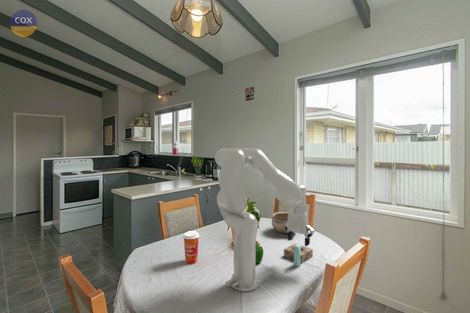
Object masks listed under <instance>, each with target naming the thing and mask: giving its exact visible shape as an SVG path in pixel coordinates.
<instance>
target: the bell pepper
mask: <svg viewBox="0 0 470 313" xmlns="http://www.w3.org/2000/svg"><path fill="white" fill-rule="evenodd" d="M260 245H261V243H258V242H256V243H255V265H256V264H260V263H261V262H262V261H263V257H264V248H263V246H262V245H261V246H260Z"/></svg>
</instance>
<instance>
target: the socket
mask: <svg viewBox="0 0 470 313" xmlns="http://www.w3.org/2000/svg"><path fill="white" fill-rule="evenodd" d="M294 245H300V244H299V243H298V244H297V243H293V244H291V245H290V246H287V247H286V248H283V257H285V258H288V259H290V260H292V261H294ZM300 246H301V258H300V264H303V263H305V262H306V261H308V260H310V259H311V258H313V252H314V249H312V248H310V247H308V246H305V245H304V246H303V245H300Z"/></svg>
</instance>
